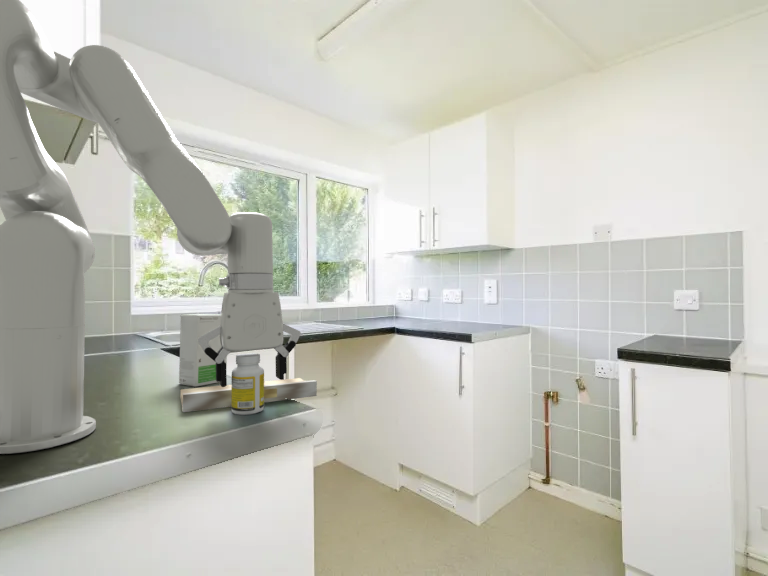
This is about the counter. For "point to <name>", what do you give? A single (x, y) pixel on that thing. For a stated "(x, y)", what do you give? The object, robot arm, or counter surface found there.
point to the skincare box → (197, 349)
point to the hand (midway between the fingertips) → (252, 381)
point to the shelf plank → (223, 395)
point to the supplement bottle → (247, 385)
